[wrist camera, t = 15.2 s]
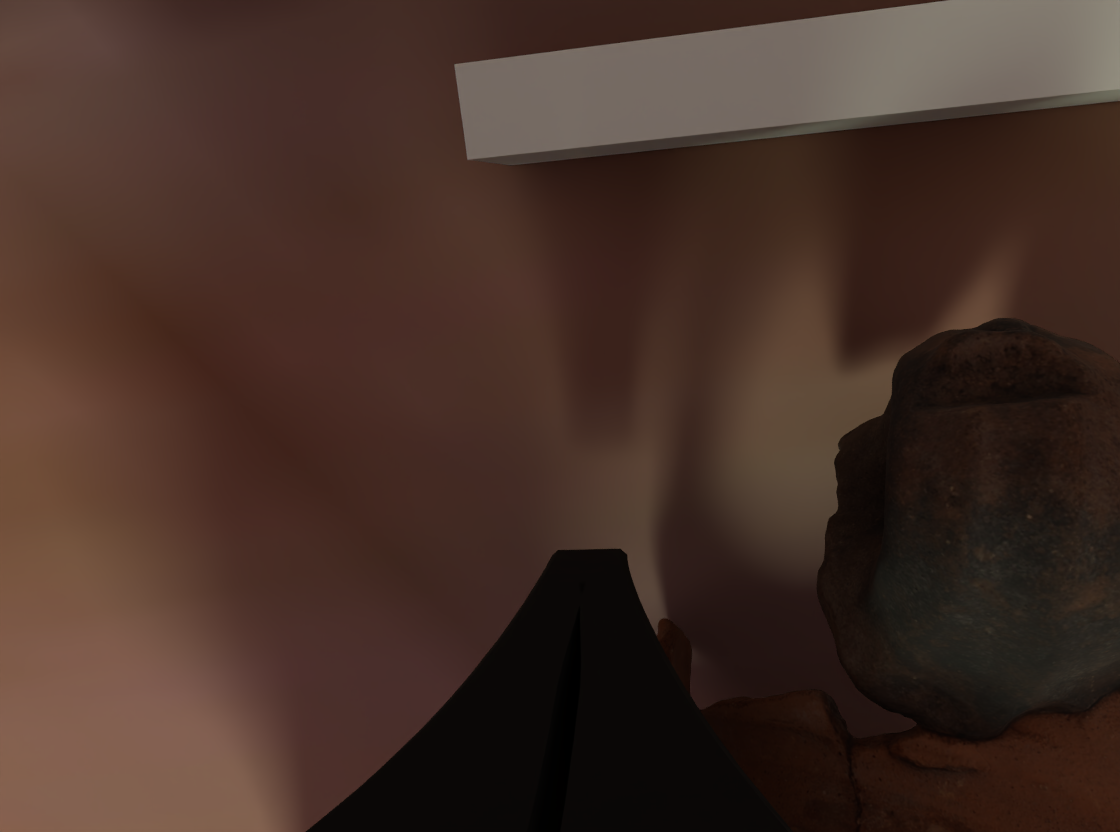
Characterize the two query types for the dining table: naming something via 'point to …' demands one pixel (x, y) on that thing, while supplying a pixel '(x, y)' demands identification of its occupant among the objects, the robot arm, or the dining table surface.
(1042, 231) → the dining table surface
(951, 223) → the dining table surface
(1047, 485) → the pottery mug
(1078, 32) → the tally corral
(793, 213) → the dining table surface
